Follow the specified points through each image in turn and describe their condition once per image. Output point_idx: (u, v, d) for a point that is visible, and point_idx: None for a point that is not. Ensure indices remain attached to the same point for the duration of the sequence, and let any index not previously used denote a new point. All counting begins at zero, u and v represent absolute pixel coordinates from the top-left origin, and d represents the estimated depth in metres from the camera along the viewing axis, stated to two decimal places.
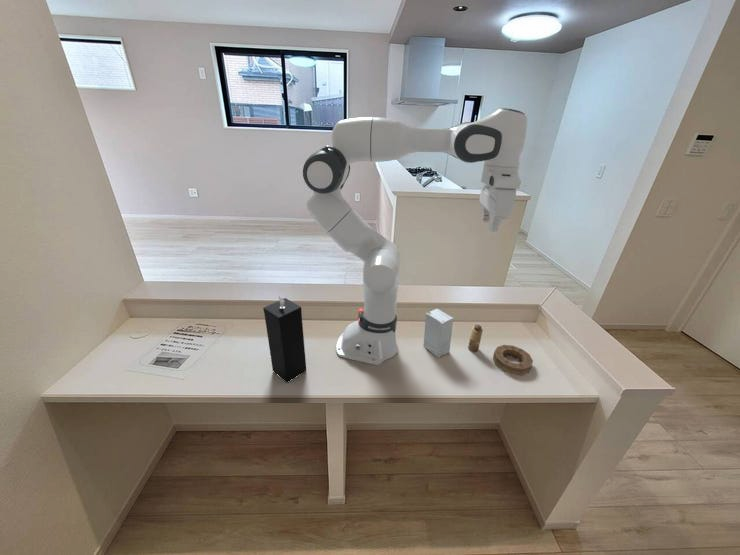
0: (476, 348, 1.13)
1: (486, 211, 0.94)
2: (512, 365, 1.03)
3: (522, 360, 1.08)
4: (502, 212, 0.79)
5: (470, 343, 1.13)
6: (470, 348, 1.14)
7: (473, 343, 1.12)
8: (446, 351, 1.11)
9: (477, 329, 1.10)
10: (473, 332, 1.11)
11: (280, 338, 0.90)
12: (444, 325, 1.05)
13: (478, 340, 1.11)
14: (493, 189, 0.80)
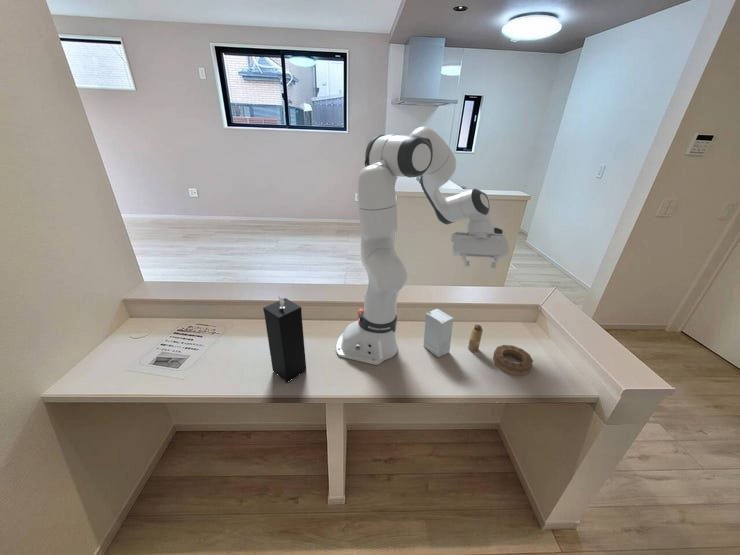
0: (476, 348, 1.13)
1: None
2: (512, 365, 1.03)
3: (522, 360, 1.08)
4: None
5: (470, 343, 1.13)
6: (470, 348, 1.14)
7: (473, 343, 1.12)
8: (446, 351, 1.11)
9: (477, 329, 1.10)
10: (473, 332, 1.11)
11: (280, 338, 0.90)
12: (444, 325, 1.05)
13: (478, 340, 1.11)
14: (500, 236, 1.14)
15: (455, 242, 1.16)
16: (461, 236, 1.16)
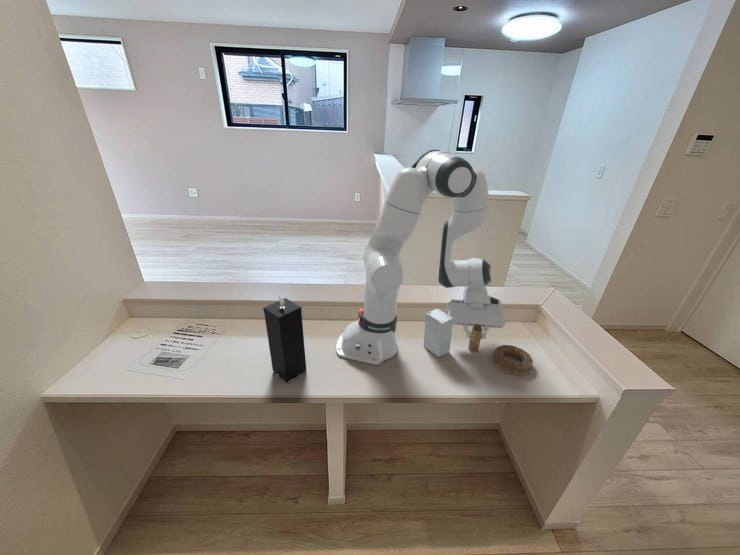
0: (476, 348, 1.13)
1: None
2: (512, 365, 1.03)
3: (522, 360, 1.08)
4: None
5: (470, 343, 1.13)
6: (470, 348, 1.14)
7: (473, 343, 1.12)
8: (446, 351, 1.11)
9: (477, 329, 1.10)
10: (473, 332, 1.11)
11: (280, 338, 0.90)
12: (444, 325, 1.05)
13: (478, 340, 1.11)
14: (496, 306, 1.13)
15: (451, 311, 1.14)
16: (457, 305, 1.15)
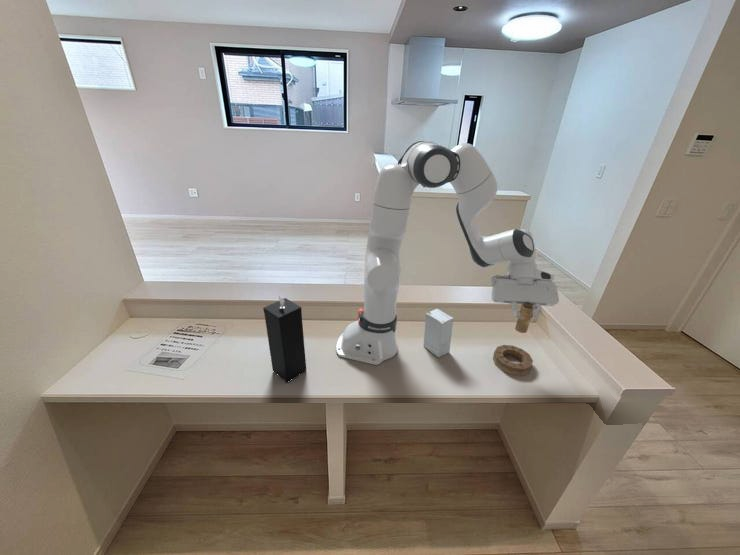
0: (525, 328, 1.00)
1: None
2: (512, 365, 1.03)
3: (522, 360, 1.08)
4: None
5: (518, 323, 1.01)
6: (518, 329, 1.01)
7: (522, 323, 1.00)
8: (446, 351, 1.11)
9: (528, 307, 0.97)
10: (523, 310, 0.98)
11: (280, 338, 0.90)
12: (444, 325, 1.05)
13: (528, 319, 0.99)
14: (548, 282, 1.00)
15: (496, 288, 1.02)
16: (503, 281, 1.02)
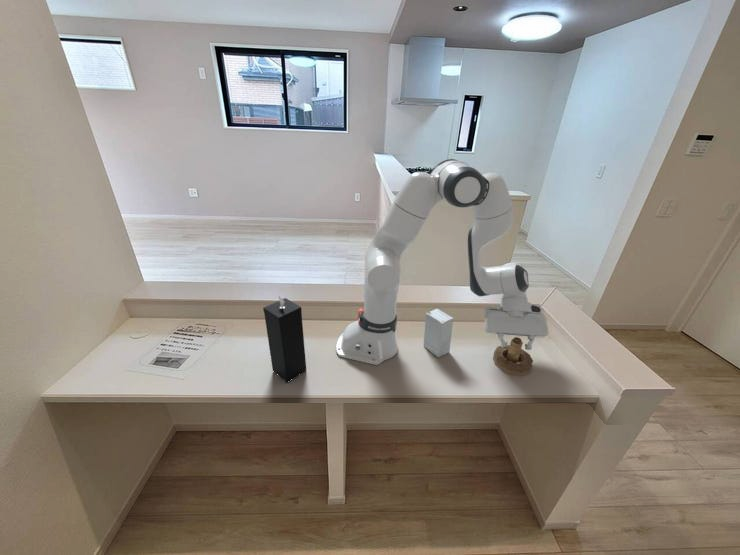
0: (515, 362, 1.07)
1: None
2: (512, 365, 1.03)
3: (522, 360, 1.08)
4: None
5: (508, 357, 1.07)
6: None
7: (512, 357, 1.06)
8: (446, 351, 1.11)
9: (517, 342, 1.04)
10: (512, 345, 1.05)
11: (280, 338, 0.90)
12: (444, 325, 1.05)
13: (518, 354, 1.05)
14: (538, 315, 1.06)
15: (489, 320, 1.07)
16: (495, 313, 1.08)
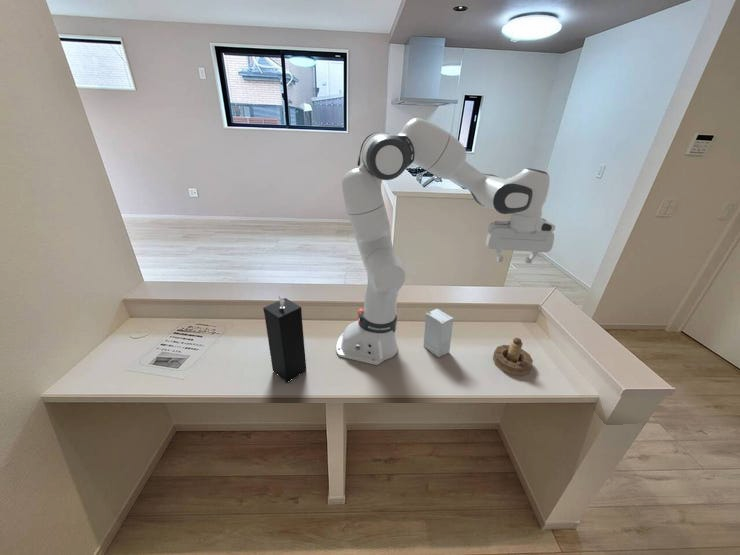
0: (515, 362, 1.07)
1: (499, 253, 1.04)
2: (512, 365, 1.03)
3: (522, 360, 1.08)
4: None
5: (508, 357, 1.07)
6: None
7: (512, 358, 1.06)
8: (446, 351, 1.11)
9: (517, 343, 1.04)
10: (512, 346, 1.04)
11: (280, 338, 0.90)
12: (444, 325, 1.05)
13: (518, 354, 1.05)
14: (547, 233, 0.97)
15: (492, 238, 1.00)
16: (500, 230, 0.99)
